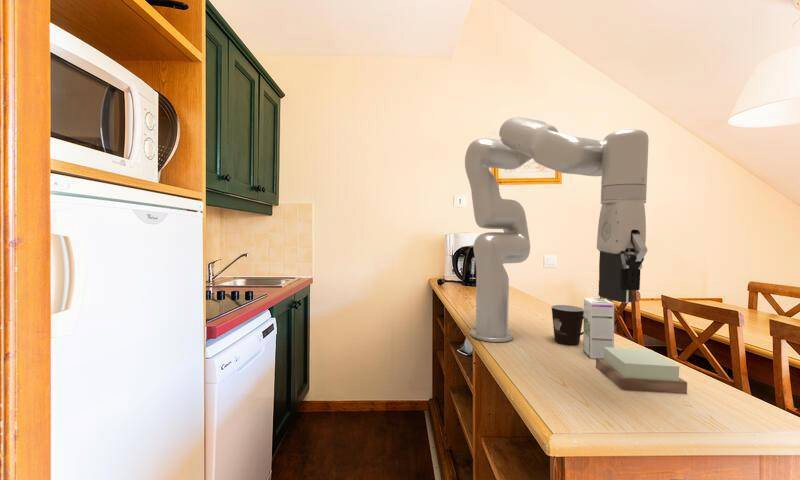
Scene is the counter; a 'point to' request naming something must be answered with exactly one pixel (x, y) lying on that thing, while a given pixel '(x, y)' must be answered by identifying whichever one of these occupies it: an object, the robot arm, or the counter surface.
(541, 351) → the counter surface
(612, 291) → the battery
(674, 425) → the counter surface
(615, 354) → the tower top
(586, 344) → the syrup box
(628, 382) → the tower base
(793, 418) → the counter surface
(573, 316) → the coffee mug
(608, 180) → the robot arm
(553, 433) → the counter surface
